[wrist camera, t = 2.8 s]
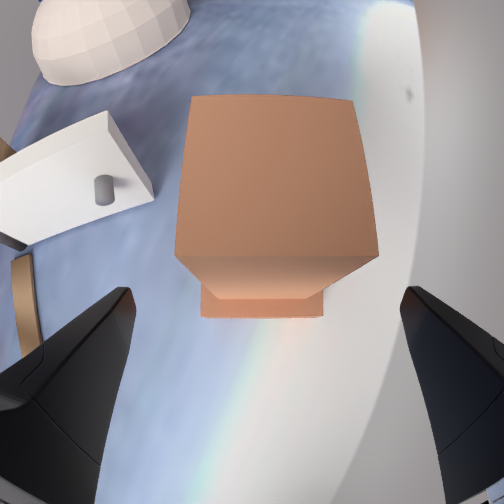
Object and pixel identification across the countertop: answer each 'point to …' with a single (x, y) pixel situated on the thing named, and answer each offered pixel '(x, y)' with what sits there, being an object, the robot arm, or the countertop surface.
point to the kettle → (101, 36)
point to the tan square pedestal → (272, 203)
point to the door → (70, 180)
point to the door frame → (22, 285)
